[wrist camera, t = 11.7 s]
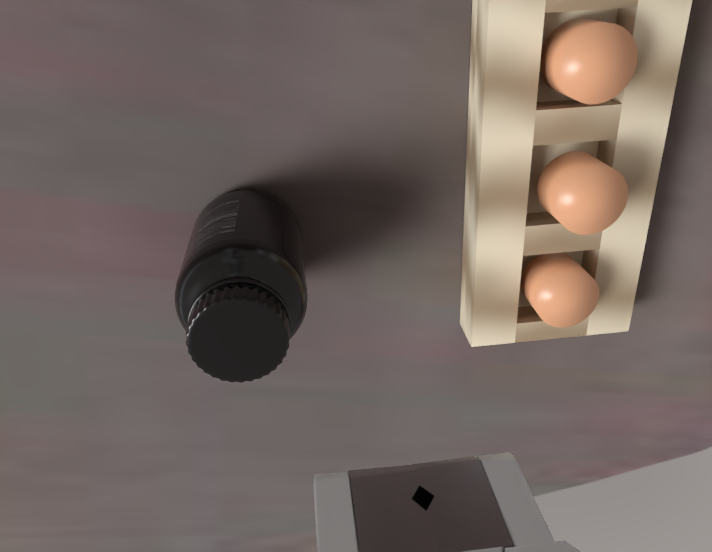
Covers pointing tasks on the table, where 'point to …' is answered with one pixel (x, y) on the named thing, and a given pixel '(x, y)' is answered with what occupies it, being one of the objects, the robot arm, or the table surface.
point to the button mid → (582, 192)
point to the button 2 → (589, 60)
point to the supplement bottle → (242, 286)
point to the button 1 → (559, 289)
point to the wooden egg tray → (544, 143)
